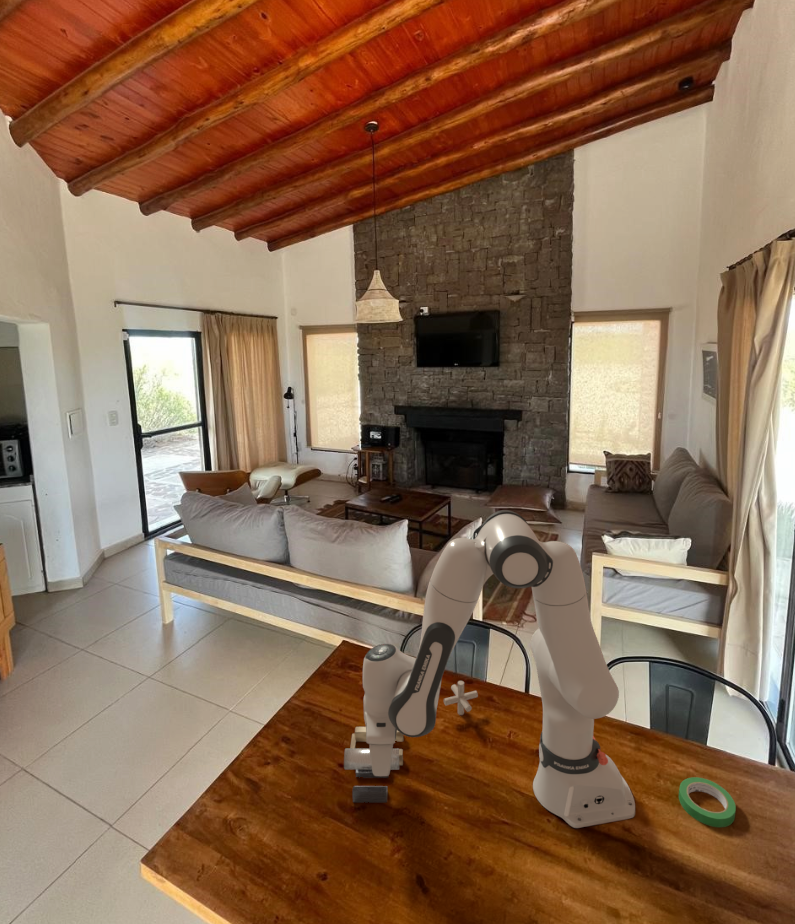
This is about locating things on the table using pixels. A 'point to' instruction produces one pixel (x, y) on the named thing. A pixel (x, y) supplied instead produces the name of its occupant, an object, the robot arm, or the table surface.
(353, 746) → the beige u-shaped bracket
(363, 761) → the axle
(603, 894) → the table surface
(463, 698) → the pipe connector
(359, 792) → the dark blocks
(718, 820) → the tape roll
